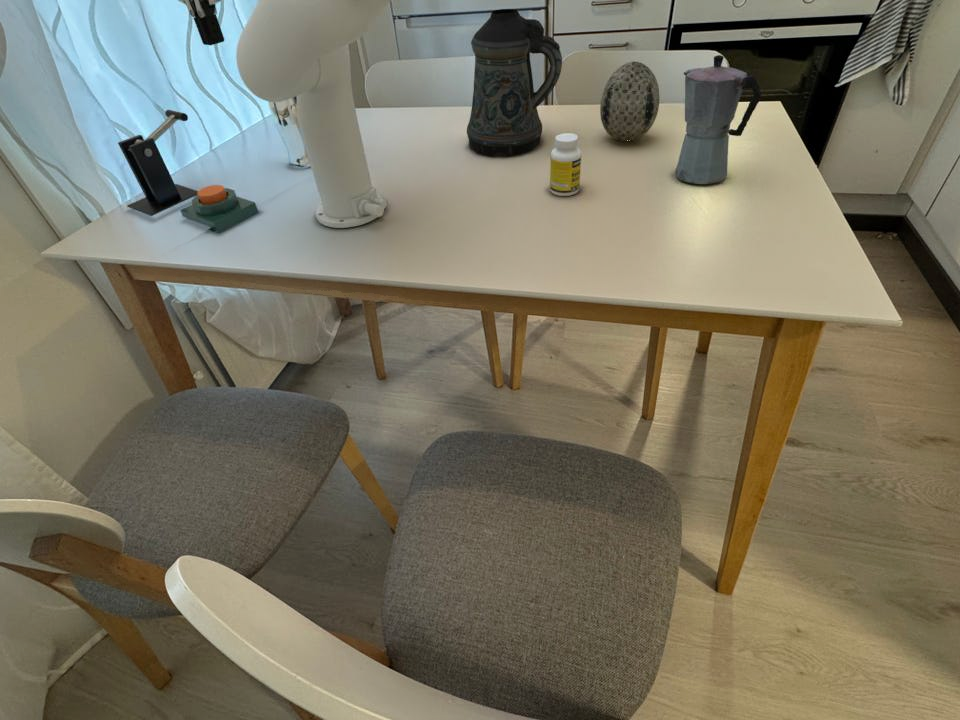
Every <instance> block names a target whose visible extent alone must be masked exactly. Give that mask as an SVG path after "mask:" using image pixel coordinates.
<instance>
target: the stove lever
mask: <svg viewBox="0 0 960 720" xmlns="http://www.w3.org/2000/svg"><path fill="white" fill-rule="evenodd" d="M164 114H165V116H166V119H165V120H164V121H163V122H162V123H161V124H159V126H158V127H157V128H156V129H154V130H153V131H152V132H151V133H150V134H149V135H148V136H147V137H146V138H145V139H144V140H146V139H148V138H153V139H154V141H155V142H156V141H158V140H159V138H161V136H163V135H164V134H165V133H166V132H167V131H168V130H169V129H170V128H171V127H172V126H173V125H174V124H175V123H176V122H177V121H181V122H187V121H188V120H189V116H188V115H187V113H184V112H181V111H176V110H172V109H166V110H165V113H164ZM140 141H142V140H139V139H137V140H136V141H135V142H134V143H133V144H135V143H138V142H140ZM127 150H128V151H129V152H130V153H131V154H132V152H131V150H130V148H127ZM132 155H133V154H132Z"/></svg>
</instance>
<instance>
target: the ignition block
mask: <svg viewBox="0 0 960 720" xmlns="http://www.w3.org/2000/svg"><path fill="white" fill-rule="evenodd" d="M224 188H225V191H226V193H227V197H226V199H224V200H222V201H220V202H216V203H212V204H202V203H201V201H200V199H199V197H198V195H196V196H194V198H193V199H191V204H190V205H187V206H186V207H184V208H181V209H180V213H181V215H182V217H184V218H186V219H189V220H191V221H195V222H197V223H199V224H202V225H204V226H207V227H210V228H208V229H207V230H208V231H210V232H213V233H215V234H218V235H220V234H221V233H223V232H226V231H227V230H229V229H230V228H233V227H235V226H237V225H239V224H240V223H242V222H244V221H246V220H248V219H250V218H252V217H254V216H255V215H258V214H259V209H258V207H257V205H256V202H255V201H252V200H249V199H246V198H243V197H240V196H237V194H236V191H235V189H231V188H228V187H224Z"/></svg>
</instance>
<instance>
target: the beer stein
mask: <svg viewBox="0 0 960 720" xmlns="http://www.w3.org/2000/svg"><path fill="white" fill-rule="evenodd" d="M470 45H471V49H472V52H473V53H474V73H473V74H474V75H473V91H472V102H471V109H470V116H469V120H468V123H467V126H466V134H467V139H468V147H469V148H468V149H470V150H471V151H473V152H474V153H476V154H477V155H480V156H485V157H490V158H510V157H515V156H517V157H518V156H521V155H524V154H527V153H530V152H532V151H534V150H536V148H538V147H539V146H540V142H541V138H542V134H543V123H542V120H541V118H540V115H539V111H538V107H539V106H540V105H541V104H542V103H543V102H544V101H545V100H546V99H547V97H548V96H549V95H550V94H551V92H552V91H553V90H554V88H555V87H556V85H557V83H558V81H559V78H560V76H561V72H562V68H563V56H562V55H563V54H562V52H561V47H560V44H559V43H558V42H557V41H556V40H555V39H554V38H553V37H552V36H549V35H545V28H544V26H543V25H542V23H541V22H540V21H539V20H537V19H534V18H533V19H532V18H525V17H523V16H522V15H521V14H520V13H519V11H518V9H513V8H501V9H495V10H492V11H491V13H490V17H489V18H488V19H487V20H486V21H485V22H484V23H483V24H482V26H481V27H480V28H479V29H478V30H477V31H476V32H475V33H474V35H473V37H472V39H471V41H470ZM531 54H532V55H533V54H535V55H536V54H542V55H543V56H546V58H547V60H548V63H549V70H548V72H547V75H546V77H545V79H544V81H543V83H542V84H541V86H539V88H538V89H537V90H536V91H535V89H534V77H533V71H532V63H531Z"/></svg>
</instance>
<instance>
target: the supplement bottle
mask: <svg viewBox="0 0 960 720" xmlns="http://www.w3.org/2000/svg"><path fill="white" fill-rule="evenodd" d="M554 146H555V147H554V148H553V149H552V150H551V152H550V167H549V168H550V169H549V170H550V173H549V190H550V193H552V194H553V195H555V196H560V197H569V196H574V195H575V194H577V193H578V192H579V190H580V185H581V184H580V183H581V170H582V169H581V168H582V166H581V165H582V150H581V149H580V148H579V147H578V146H579V136H578V135H577V134H576V133H570V132H569V133H568V132H565V133H559V134H557V135H556V136H555V138H554Z"/></svg>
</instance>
